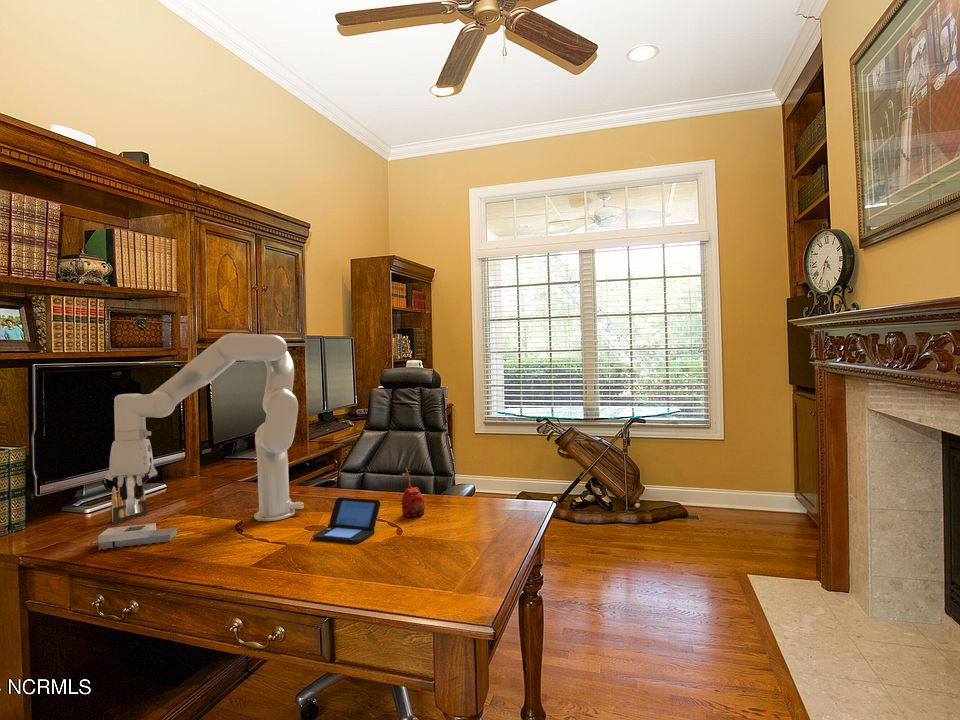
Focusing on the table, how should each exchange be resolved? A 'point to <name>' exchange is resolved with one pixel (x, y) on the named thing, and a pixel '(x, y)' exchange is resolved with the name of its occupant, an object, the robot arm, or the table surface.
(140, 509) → the ammunition clip
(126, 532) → the chain link
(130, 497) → the pin
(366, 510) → the game console
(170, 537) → the chain link
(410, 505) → the red clay folk toy
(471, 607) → the table surface
